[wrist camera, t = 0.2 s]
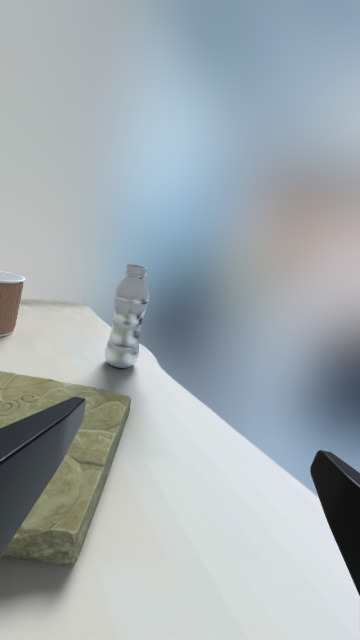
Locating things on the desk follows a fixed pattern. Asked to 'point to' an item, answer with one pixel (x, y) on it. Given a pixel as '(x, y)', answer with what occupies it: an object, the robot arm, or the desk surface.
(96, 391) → the decorative tile
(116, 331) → the plastic bottle
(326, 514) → the robot arm
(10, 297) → the coffee cup
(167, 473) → the desk surface
